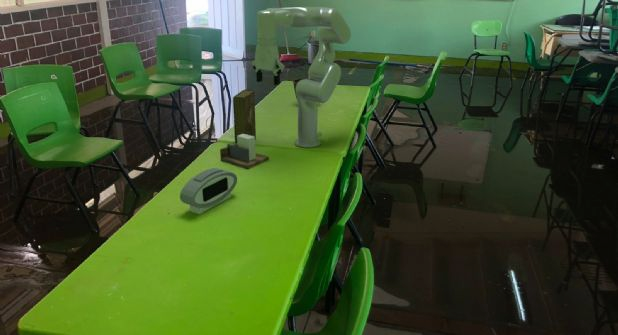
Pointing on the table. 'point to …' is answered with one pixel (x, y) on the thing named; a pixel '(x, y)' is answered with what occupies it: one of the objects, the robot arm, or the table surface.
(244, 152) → the shelf
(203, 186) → the alarm clock
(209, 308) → the table surface
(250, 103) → the book
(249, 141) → the plain rectangular box
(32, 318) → the table surface
